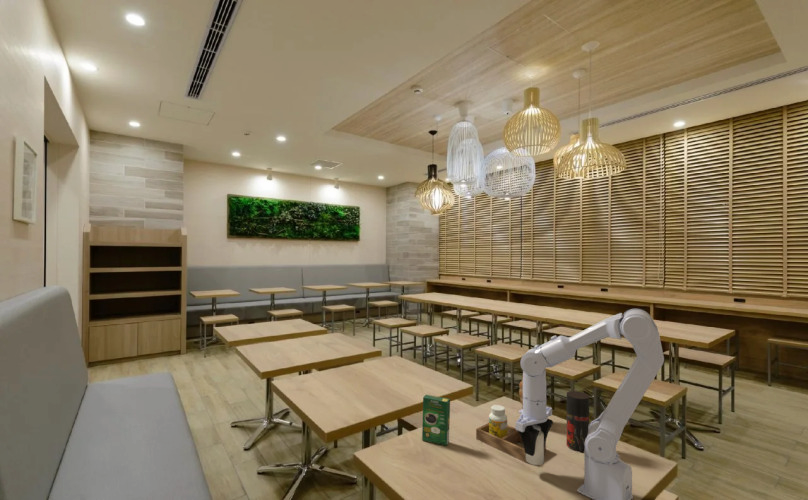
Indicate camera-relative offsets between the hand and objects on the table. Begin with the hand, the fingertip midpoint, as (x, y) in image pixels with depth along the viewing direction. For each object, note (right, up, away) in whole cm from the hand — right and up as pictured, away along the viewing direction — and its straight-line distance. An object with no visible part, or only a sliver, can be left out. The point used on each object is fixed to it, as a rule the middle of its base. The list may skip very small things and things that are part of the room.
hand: (534, 450), depth 95 cm
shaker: (0, -3, 0) cm, 2 cm away
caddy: (-2, -6, +14) cm, 15 cm away
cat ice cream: (+9, -6, +29) cm, 30 cm away
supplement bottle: (-5, -6, +17) cm, 19 cm away
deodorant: (+17, -6, +13) cm, 22 cm away
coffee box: (-24, -6, +16) cm, 29 cm away
